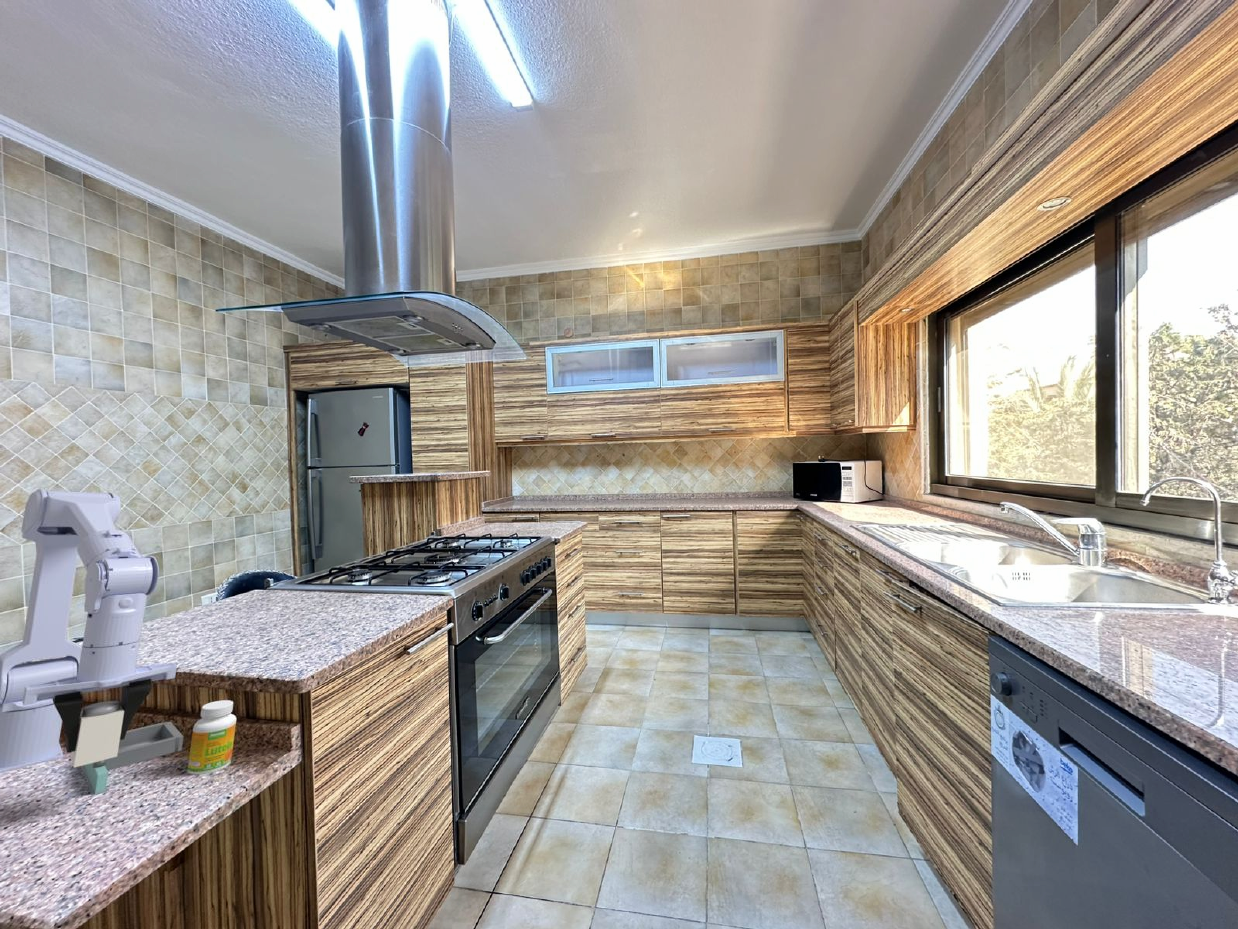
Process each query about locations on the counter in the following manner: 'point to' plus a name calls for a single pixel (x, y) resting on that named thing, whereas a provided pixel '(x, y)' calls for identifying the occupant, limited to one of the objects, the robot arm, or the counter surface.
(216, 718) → the supplement bottle
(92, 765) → the teal long flat bar
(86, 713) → the cream block with knob
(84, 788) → the counter surface
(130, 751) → the housing
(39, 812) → the counter surface
